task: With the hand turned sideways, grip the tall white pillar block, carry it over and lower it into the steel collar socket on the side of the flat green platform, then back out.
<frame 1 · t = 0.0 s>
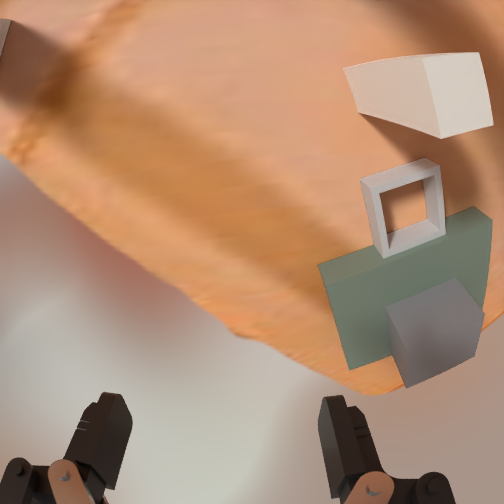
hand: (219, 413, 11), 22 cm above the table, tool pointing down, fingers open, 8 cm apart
tall white pillar block: (371, 84, 24), on the table
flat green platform: (409, 284, 36), on the table
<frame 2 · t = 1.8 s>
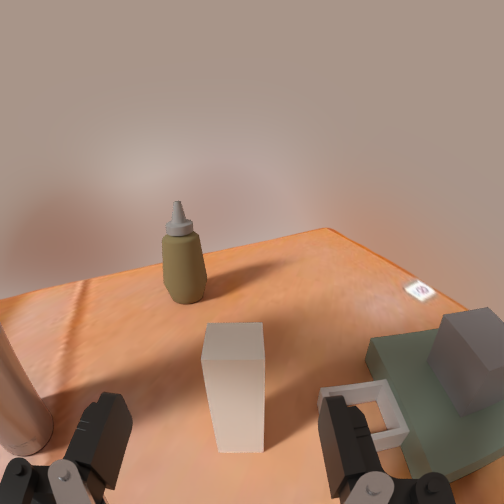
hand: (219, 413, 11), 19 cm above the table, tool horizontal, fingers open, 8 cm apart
tall white pillar block: (241, 435, 28), on the table
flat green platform: (443, 405, 28), on the table
squeeze bottle: (187, 297, 56), on the table
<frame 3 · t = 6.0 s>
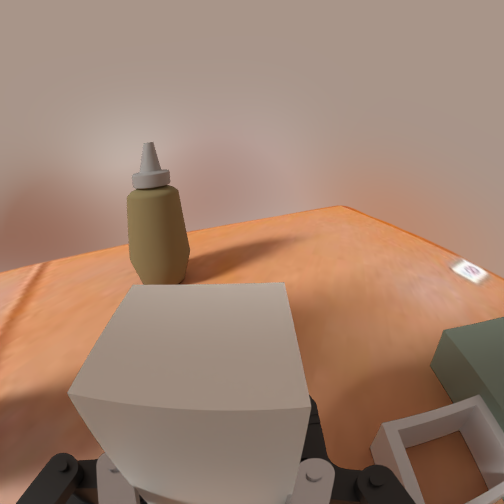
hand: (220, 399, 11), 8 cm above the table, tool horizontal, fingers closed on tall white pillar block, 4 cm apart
squeeze bottle: (163, 280, 40), on the table
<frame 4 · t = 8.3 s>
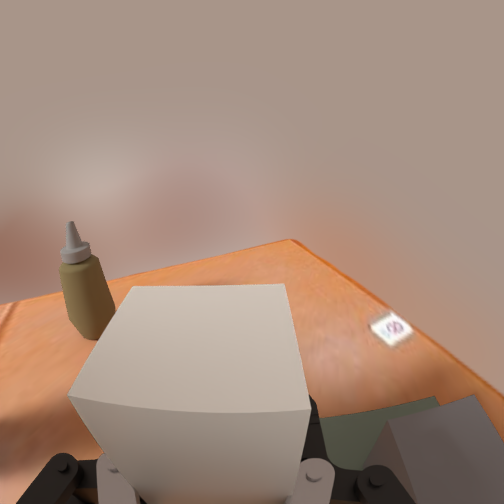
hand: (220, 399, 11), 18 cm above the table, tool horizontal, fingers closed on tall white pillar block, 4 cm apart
squeeze bottle: (98, 331, 43), on the table
when the fingers open (10 cm above the table, at t = 10.5 s): tall white pillar block drops 1 cm, resting in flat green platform.
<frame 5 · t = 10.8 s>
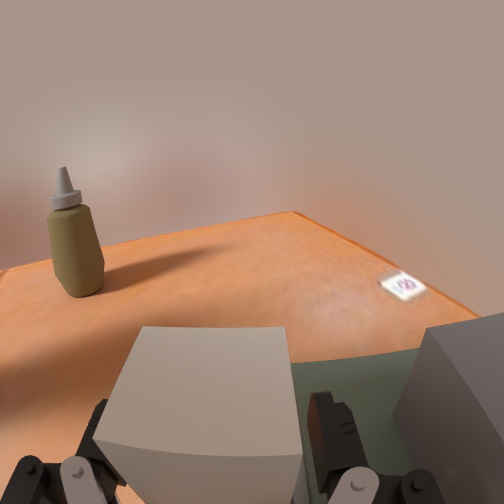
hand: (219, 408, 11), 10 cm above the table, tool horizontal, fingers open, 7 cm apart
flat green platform: (419, 490, 13), on the table
squeeze bottle: (85, 289, 40), on the table
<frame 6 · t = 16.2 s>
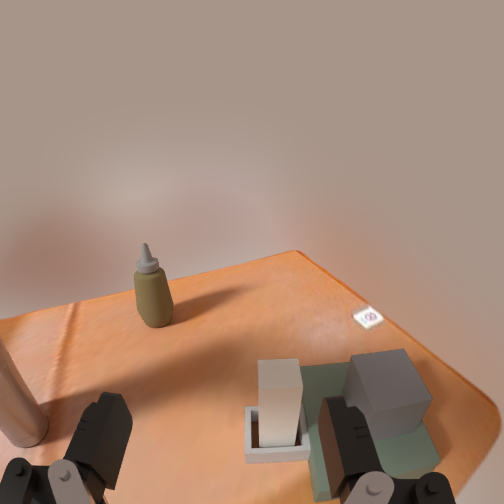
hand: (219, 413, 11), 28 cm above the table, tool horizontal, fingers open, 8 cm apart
tall white pillar block: (275, 439, 36), resting in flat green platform
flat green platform: (358, 429, 36), on the table
squeeze bottle: (158, 321, 64), on the table
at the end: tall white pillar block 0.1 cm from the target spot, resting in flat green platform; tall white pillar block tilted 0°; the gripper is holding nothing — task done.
